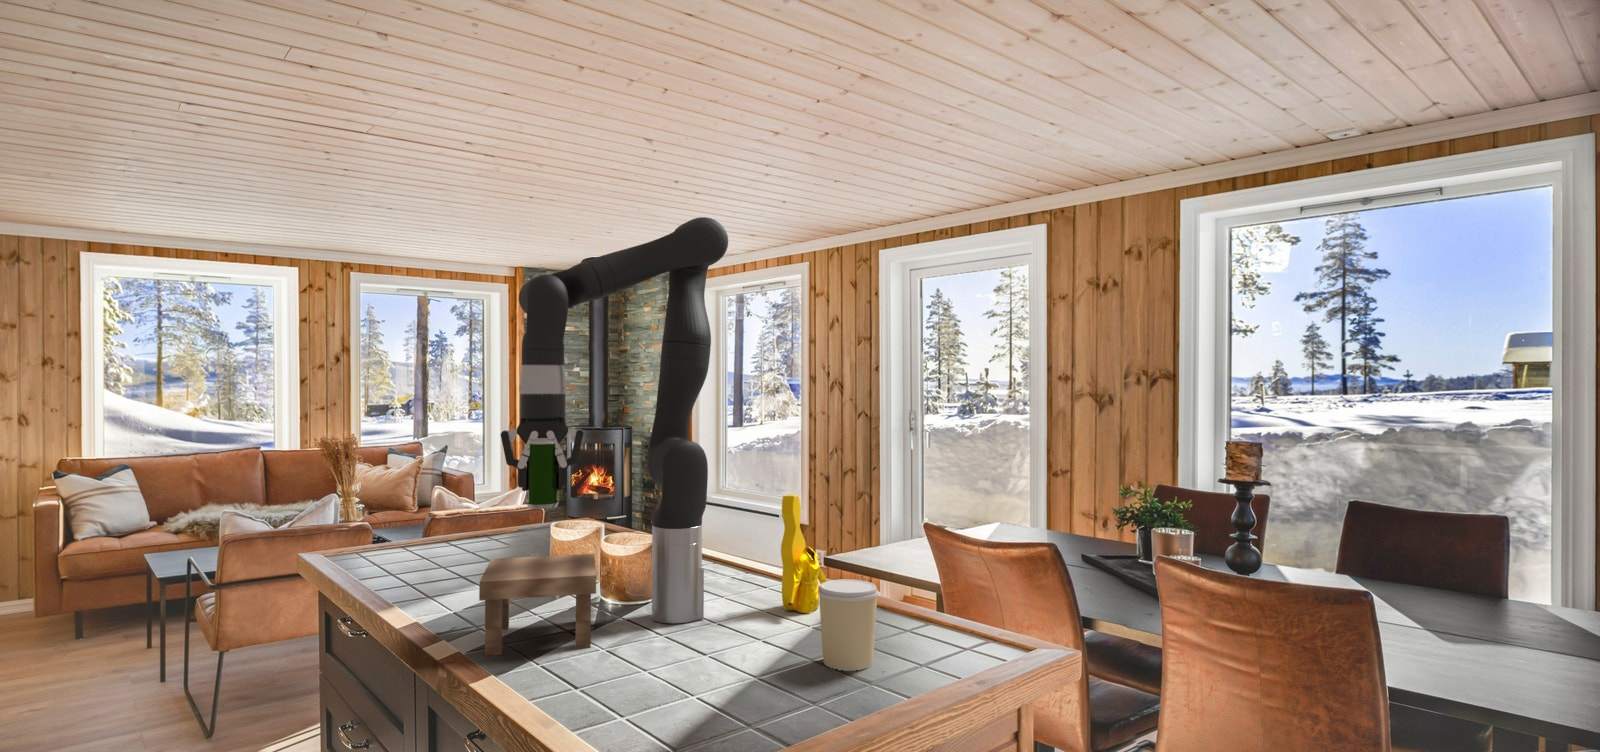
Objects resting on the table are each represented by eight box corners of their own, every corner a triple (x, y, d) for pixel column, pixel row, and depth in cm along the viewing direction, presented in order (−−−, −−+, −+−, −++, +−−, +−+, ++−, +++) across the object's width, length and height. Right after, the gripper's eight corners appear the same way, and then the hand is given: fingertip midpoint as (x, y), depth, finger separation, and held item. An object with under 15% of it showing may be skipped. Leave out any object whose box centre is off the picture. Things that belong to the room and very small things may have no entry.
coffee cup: (884, 656, 131) (884, 581, 131) (869, 676, 122) (869, 595, 122) (828, 650, 134) (828, 576, 134) (810, 668, 125) (810, 590, 125)
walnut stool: (593, 618, 152) (594, 553, 152) (595, 648, 134) (596, 575, 135) (490, 625, 147) (491, 558, 147) (478, 657, 130) (479, 581, 130)
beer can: (531, 510, 137) (531, 438, 137) (522, 506, 142) (522, 436, 142) (563, 507, 140) (563, 437, 140) (553, 503, 145) (553, 435, 145)
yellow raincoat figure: (800, 623, 149) (800, 502, 150) (761, 618, 153) (762, 499, 153) (836, 600, 165) (836, 491, 166) (801, 596, 169) (801, 489, 169)
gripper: (585, 391, 147) (585, 485, 147) (500, 391, 143) (500, 488, 143) (586, 391, 139) (585, 491, 139) (496, 392, 136) (496, 494, 135)
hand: (542, 489), depth 141 cm, fingers closed on beer can, 5 cm apart
